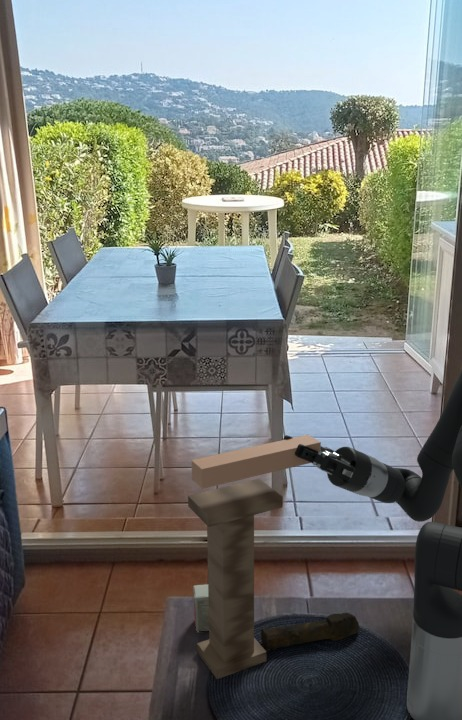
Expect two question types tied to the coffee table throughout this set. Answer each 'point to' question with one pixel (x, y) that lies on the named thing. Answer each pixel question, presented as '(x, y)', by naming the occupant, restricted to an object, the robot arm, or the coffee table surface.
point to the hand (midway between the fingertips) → (291, 445)
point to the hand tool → (310, 631)
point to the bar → (250, 461)
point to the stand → (232, 572)
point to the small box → (201, 607)
